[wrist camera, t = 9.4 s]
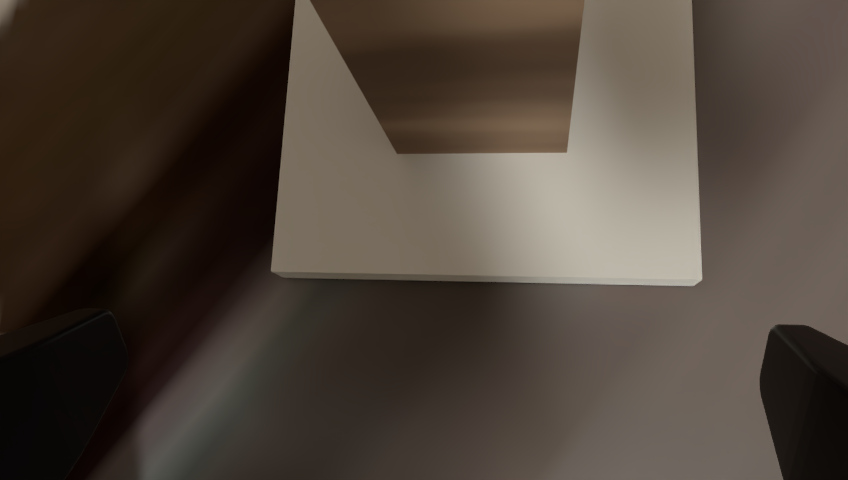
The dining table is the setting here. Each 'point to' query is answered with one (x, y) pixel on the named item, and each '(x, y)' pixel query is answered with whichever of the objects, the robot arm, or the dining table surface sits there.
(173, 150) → the dining table surface
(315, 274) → the felt coaster
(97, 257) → the dining table surface
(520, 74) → the walnut block
